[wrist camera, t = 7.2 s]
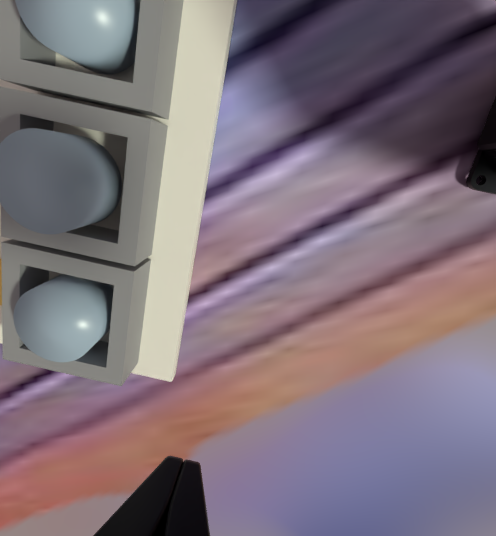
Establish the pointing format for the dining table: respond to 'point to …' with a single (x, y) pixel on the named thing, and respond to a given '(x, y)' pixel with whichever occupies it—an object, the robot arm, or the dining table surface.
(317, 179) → the dining table surface
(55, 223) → the button
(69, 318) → the button
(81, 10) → the button
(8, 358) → the board
